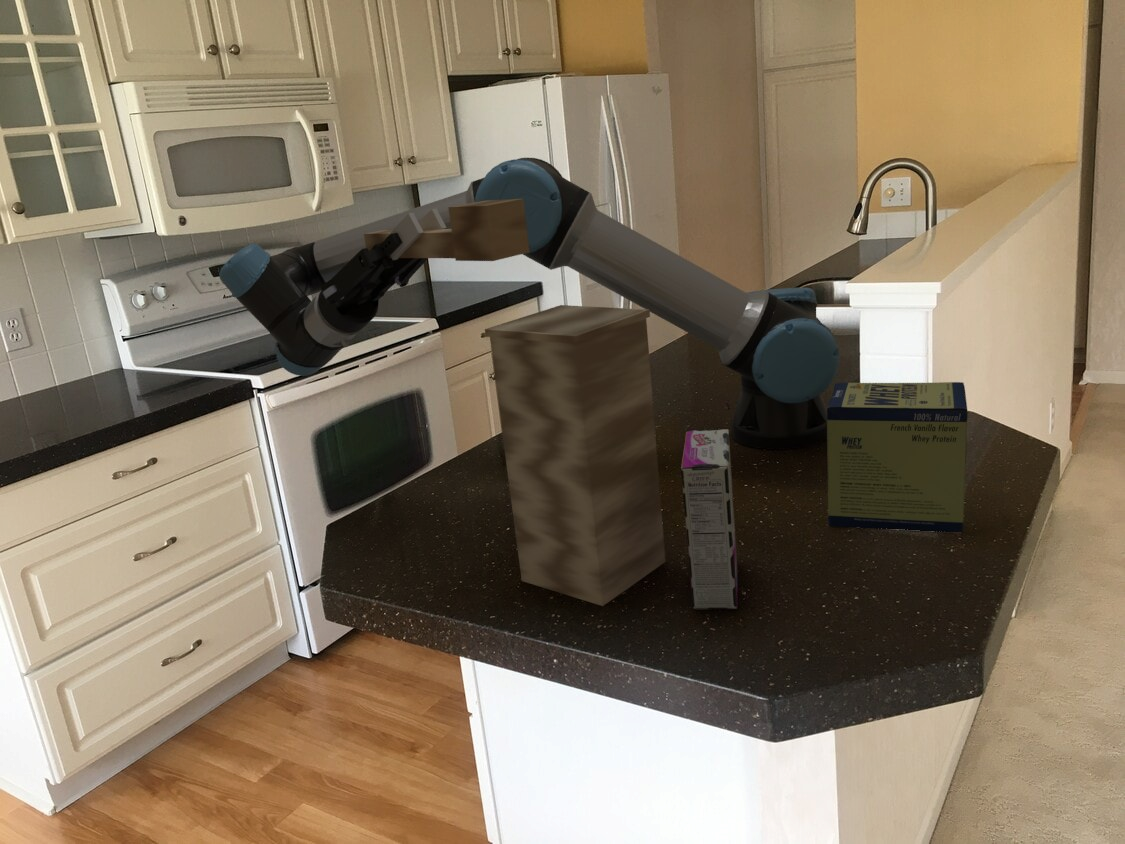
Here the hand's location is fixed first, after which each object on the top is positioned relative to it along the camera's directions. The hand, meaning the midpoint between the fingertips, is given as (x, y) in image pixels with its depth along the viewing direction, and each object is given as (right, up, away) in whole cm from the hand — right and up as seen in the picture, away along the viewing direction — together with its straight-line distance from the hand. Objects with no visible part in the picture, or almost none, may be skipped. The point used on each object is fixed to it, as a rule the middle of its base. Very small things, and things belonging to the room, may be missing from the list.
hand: (427, 220), depth 112 cm
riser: (+20, -42, -3) cm, 46 cm away
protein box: (+58, -36, +4) cm, 68 cm away
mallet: (+1, -4, 0) cm, 4 cm away
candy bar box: (+33, -42, -9) cm, 55 cm away
